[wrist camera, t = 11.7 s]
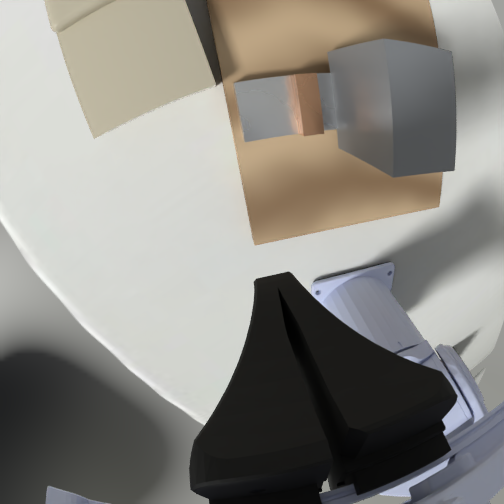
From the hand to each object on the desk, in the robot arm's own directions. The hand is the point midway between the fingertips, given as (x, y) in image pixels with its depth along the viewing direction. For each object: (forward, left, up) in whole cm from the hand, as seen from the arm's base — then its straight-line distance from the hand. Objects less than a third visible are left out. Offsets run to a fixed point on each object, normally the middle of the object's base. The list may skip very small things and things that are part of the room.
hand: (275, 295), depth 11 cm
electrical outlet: (+16, +5, -10) cm, 20 cm away
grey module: (+6, -8, -8) cm, 13 cm away
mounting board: (+6, -8, -10) cm, 14 cm away
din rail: (+6, -8, -9) cm, 13 cm away
